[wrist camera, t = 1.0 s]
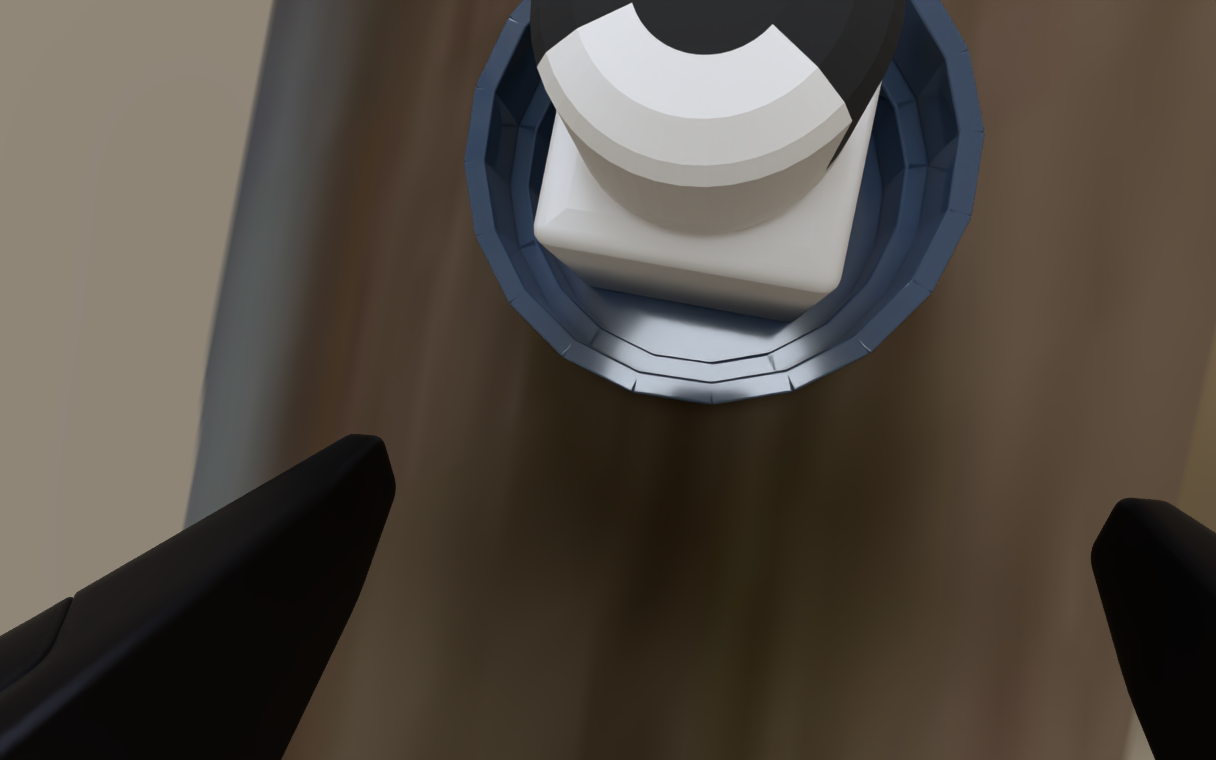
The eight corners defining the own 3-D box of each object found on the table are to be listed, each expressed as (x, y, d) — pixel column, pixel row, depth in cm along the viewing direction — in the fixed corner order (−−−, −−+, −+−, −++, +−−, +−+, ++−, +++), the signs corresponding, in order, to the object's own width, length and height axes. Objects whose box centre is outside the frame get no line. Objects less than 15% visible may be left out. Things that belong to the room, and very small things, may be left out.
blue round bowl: (884, 428, 21) (938, 440, 16) (491, 368, 23) (433, 362, 18) (947, 19, 21) (1020, -95, 16) (548, -7, 23) (504, -115, 18)
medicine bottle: (625, 78, 22) (532, -276, 10) (841, 106, 21) (1010, -250, 9) (583, 286, 22) (444, 170, 11) (796, 325, 21) (908, 244, 10)
